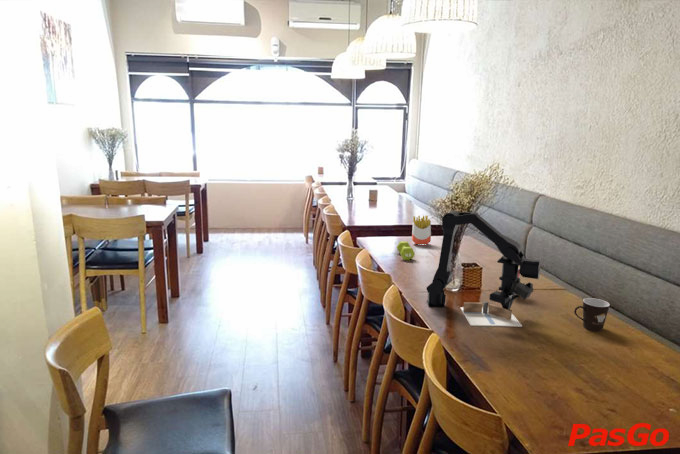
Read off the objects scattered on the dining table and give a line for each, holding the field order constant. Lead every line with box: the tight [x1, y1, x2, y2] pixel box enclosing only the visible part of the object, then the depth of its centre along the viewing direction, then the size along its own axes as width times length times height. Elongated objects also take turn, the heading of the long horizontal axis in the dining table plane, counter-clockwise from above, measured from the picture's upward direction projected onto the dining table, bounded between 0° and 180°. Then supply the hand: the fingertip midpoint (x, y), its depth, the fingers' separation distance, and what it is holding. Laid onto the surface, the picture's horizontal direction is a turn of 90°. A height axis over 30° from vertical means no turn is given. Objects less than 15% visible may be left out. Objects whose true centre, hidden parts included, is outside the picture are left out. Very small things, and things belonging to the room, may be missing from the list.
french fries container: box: [411, 215, 432, 245], centre depth 286 cm, size 5×11×18 cm, turn 91°
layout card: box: [459, 306, 523, 328], centre depth 181 cm, size 19×17×1 cm
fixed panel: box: [463, 301, 489, 314], centre depth 183 cm, size 9×2×5 cm, turn 88°
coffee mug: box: [573, 297, 611, 333], centre depth 171 cm, size 12×9×10 cm
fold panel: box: [488, 303, 513, 320], centre depth 179 cm, size 9×1×4 cm, turn 44°
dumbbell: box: [396, 240, 415, 261], centre depth 262 cm, size 16×8×7 cm, turn 1°
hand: (506, 313), depth 179 cm, fingers closed
